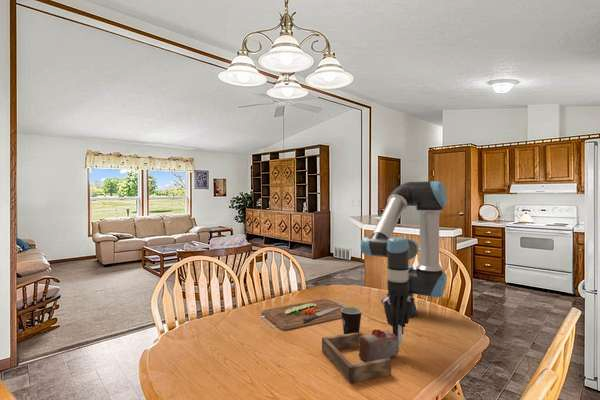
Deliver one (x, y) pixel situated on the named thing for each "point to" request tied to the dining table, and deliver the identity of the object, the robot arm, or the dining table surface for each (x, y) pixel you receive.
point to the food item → (378, 345)
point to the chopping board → (303, 314)
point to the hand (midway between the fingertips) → (398, 343)
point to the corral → (357, 370)
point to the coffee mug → (351, 319)
